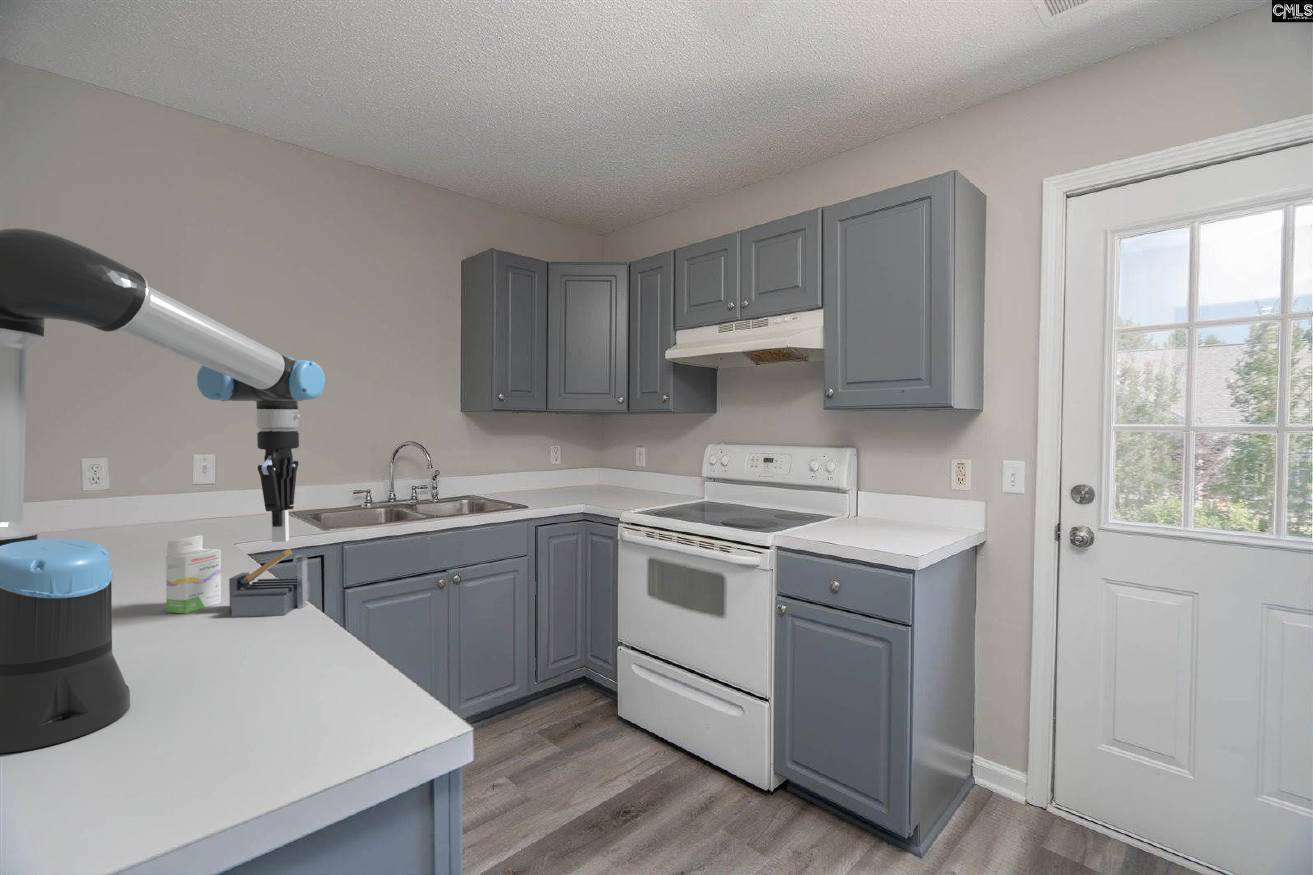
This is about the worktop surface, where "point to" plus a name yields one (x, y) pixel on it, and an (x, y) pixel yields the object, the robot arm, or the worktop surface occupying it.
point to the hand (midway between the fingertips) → (280, 541)
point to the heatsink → (270, 593)
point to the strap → (265, 567)
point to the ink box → (192, 576)
